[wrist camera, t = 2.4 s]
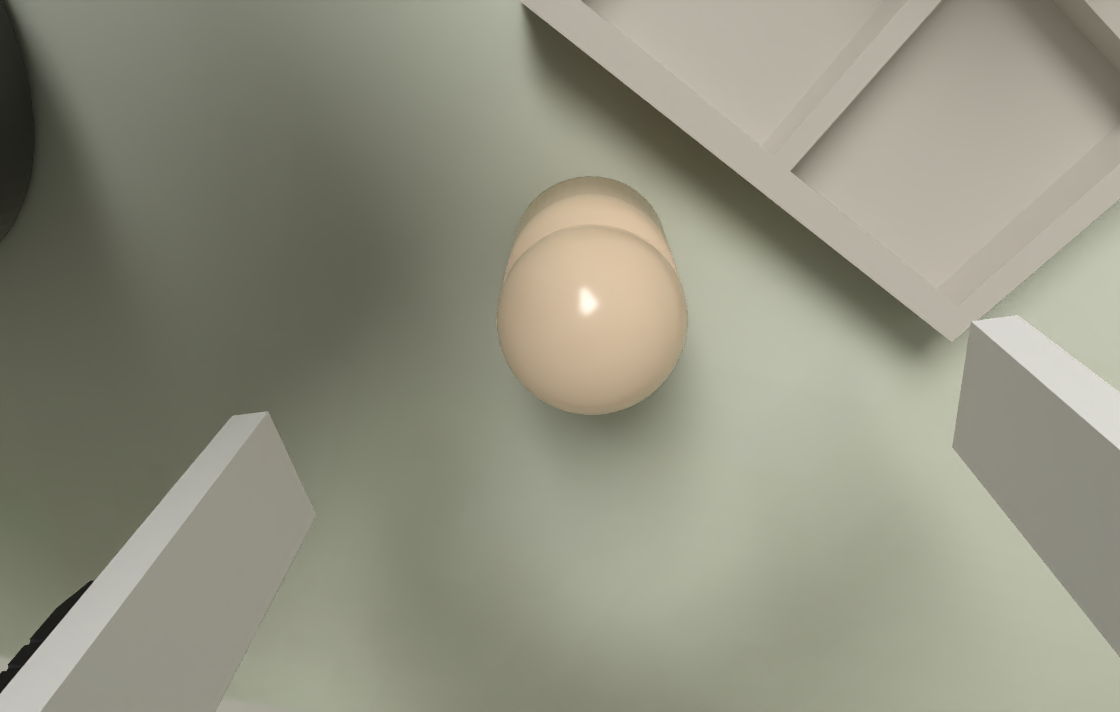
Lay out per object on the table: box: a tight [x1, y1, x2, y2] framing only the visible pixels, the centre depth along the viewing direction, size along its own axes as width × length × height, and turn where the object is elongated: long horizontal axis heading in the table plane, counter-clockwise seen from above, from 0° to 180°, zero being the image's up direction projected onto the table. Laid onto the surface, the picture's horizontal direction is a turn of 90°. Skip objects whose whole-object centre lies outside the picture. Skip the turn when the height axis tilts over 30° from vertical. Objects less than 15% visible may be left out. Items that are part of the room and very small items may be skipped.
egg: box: [496, 176, 688, 415], centre depth 17 cm, size 5×5×7 cm
